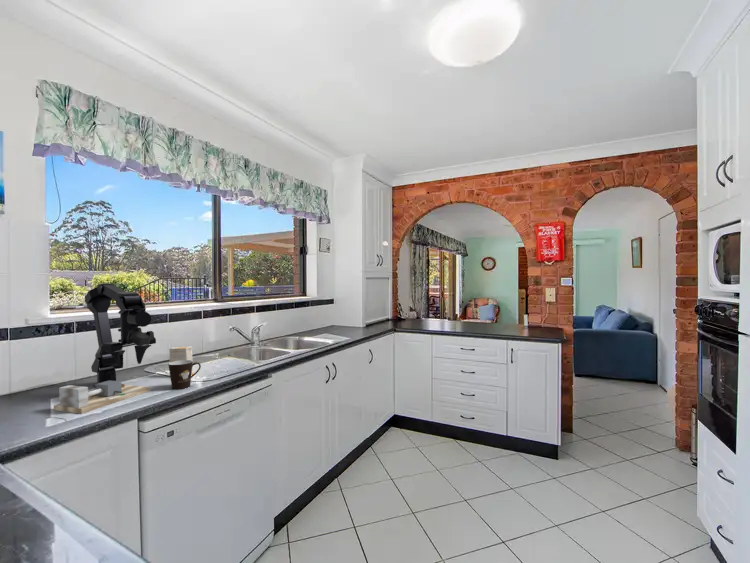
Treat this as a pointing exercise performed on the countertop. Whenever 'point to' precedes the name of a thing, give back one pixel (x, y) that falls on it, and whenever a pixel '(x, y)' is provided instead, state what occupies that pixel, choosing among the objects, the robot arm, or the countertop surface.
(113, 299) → the robot arm
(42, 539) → the countertop surface
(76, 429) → the countertop surface
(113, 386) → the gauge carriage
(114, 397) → the bench
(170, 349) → the supplement box
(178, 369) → the coffee mug
